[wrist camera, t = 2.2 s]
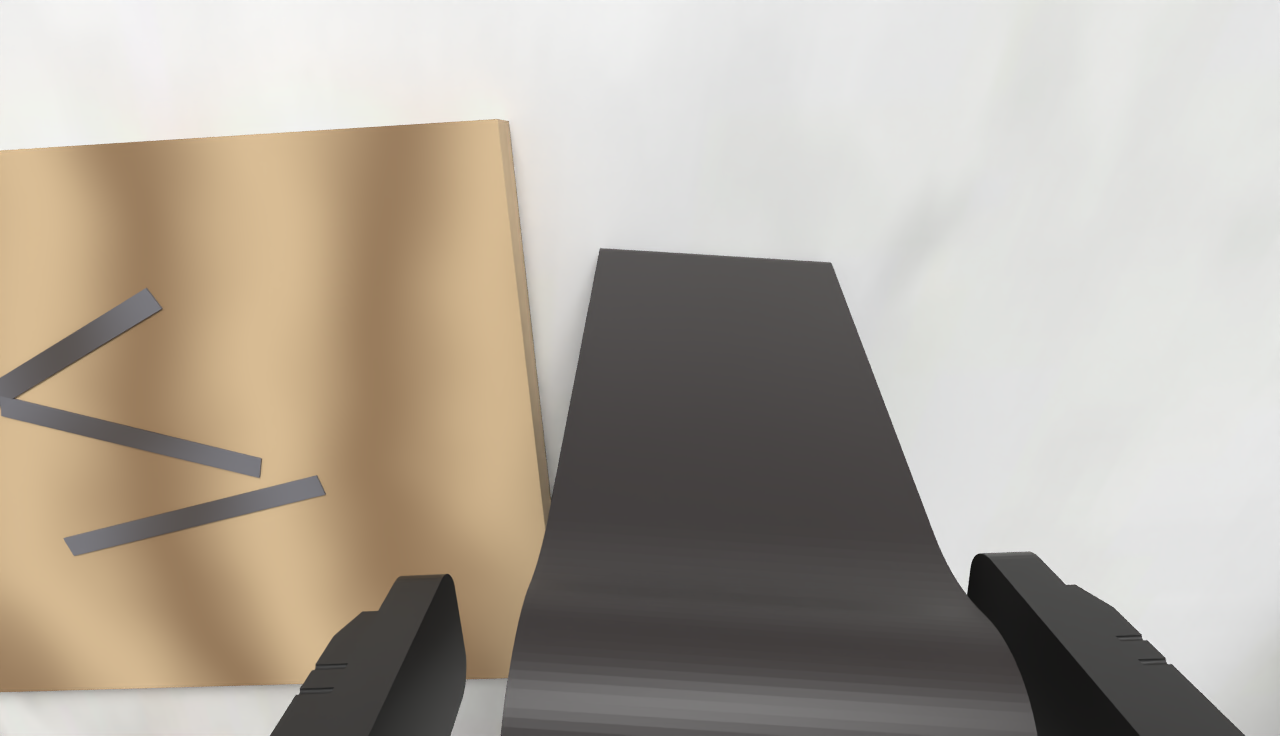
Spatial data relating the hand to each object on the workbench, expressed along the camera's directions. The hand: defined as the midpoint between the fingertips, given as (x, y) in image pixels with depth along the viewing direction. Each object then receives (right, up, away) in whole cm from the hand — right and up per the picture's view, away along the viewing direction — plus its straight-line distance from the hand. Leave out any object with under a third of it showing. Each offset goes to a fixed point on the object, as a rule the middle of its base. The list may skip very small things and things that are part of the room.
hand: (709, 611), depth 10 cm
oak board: (-14, +2, +9) cm, 17 cm away
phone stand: (+1, +3, +9) cm, 9 cm away
